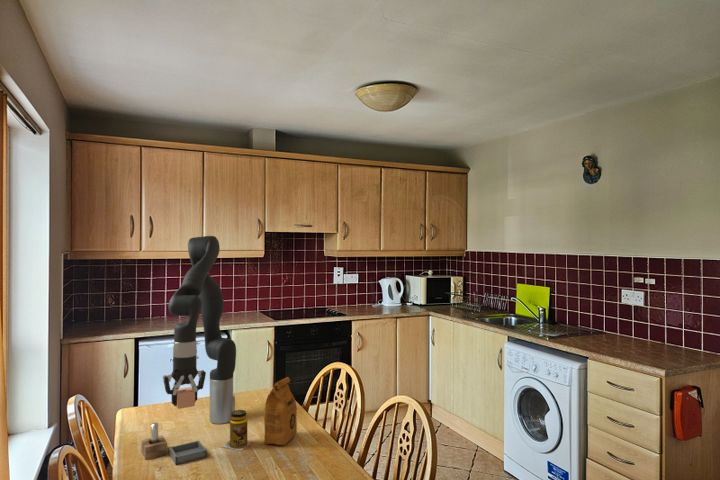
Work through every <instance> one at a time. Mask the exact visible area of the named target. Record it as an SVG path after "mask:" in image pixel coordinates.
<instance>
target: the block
mask: <svg viewBox="0 0 720 480" xmlns="http://www.w3.org/2000/svg"><path fill="white" fill-rule="evenodd" d="M176 395H177V406H175V407H176V408H177V410H179V409H186V408H190V407H191V408H192V407H195V405H196V402H195V391H194V390H193V389H192V387H191V386H189V387H182V388H181V387H180V388H179V389H178V391H177V393H176Z"/></svg>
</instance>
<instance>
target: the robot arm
mask: <svg viewBox="0 0 720 480" xmlns="http://www.w3.org/2000/svg"><path fill="white" fill-rule="evenodd" d="M187 251H188V255H189V259H190V264H191V268H189V269H188V271H187V272H186V273H185V275H184V277H183V280H182V282H181V285H180V286H179V288H178V289H177V290H176V291H175V292H174V293H173V295H172V296H171V298H170V299H169V303H168V306H167V307H168V312H169V313H170V314H171V315H172V316H173V317H174V316H175V317H188V318H189V319H188V320H187V321H184V322H183V321H182V322H179V323H177V324H175V326H174V329H173V333H174V335H173V339H174V340H173V348H172V349H173V350H172V353H173V354H172V358H173V359H172V372H171V374H168V375H166V374H165V375H164V374H163V376H162V379H163V381H162V382H163V384H164V385H163V386H164V391H165V393H166V394H167V395H171V404H172V405H173V406H174V407H176V406H177V395H176V393H177V391H178V389H181V386H185V385H189V386H190V387H191V388H192V389H193V390H194V391H195V403H196V402H197V401H198V393H199V390H203V389H204V386H205V385H204V384H205V380H206V374H207V372H206V371H205V370H204V369H202V370H198V369H197V356H198V354H197V353H198V350H197V348H198V347H197V325H198V320H199V317H200V315H201V319H202V324H203V325H202V326H203V333H204V334H203V336H204V347H205V353H206V355H207V357H208V358H209V359H211V360H213V361H217V362H216V363H217V365H216V368H213V369H211V370H210V372H209V422H210V423H212V424H214V425H215V424H216V425H217V424H219V425H221V424H226V423H230V420H231V413H232V412H233V411H235V410H236V396H235V395H234V373H235V370H236V363H237V346H236V343H235V341H234V340H233V339H230V338H226V337H222V333H221V328H220V327H221V326H220V322H221V318H222V315H223V312H224V307H225V303H224V301H225V300H224V296H223V290H222V288H221V286H220V285H219V284H218V283H217V282H216V280H215V279H214V278H213V277H212V276H211V275H210V274H209V273H210V271H211V269H212V268H213V266H214V265H215V263H216V260H217V258H218V257H219V254H220V242H219V239H218V238H217V237H216V236H215V235H207V236H205V235H204V236H196V237H195V236H194V237H191V238H189V240H188V242H187ZM197 376H198V382H197V385H196V381H195V378H196V377H197ZM172 379H173V380H174V383H173V386H172V388H171V386H170V382H171V381H172Z"/></svg>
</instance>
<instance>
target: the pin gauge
mask: <svg viewBox="0 0 720 480" xmlns="http://www.w3.org/2000/svg"><path fill="white" fill-rule="evenodd" d="M150 431H151V432H150V438H151V444H154V443H158V437H159V422H153V423H151V425H150Z"/></svg>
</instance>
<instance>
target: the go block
mask: <svg viewBox="0 0 720 480" xmlns="http://www.w3.org/2000/svg"><path fill="white" fill-rule="evenodd" d="M140 441H141V442H140V443H141V447H140V449H141V450H140V451H141V454H142V456H143V458H144V459H145V460H149V459H154V458H158V457H162V456H165V455H166V456H167V455H168V442H167V439H166V438H165V437H164V436H163V435H158V443H154V444H151V437H150V438H146V439H141V440H140Z"/></svg>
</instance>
